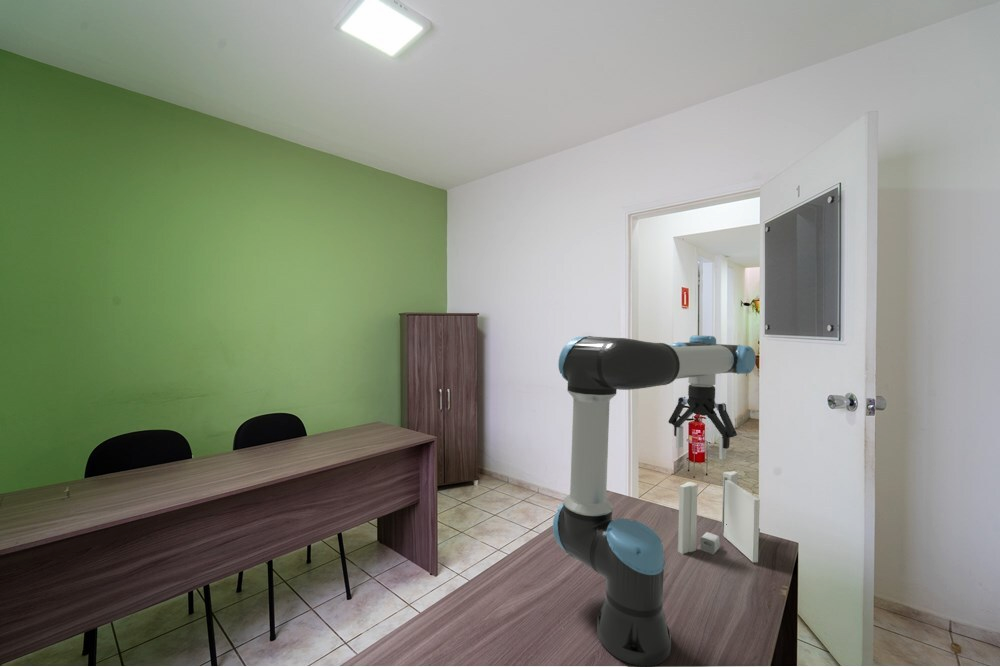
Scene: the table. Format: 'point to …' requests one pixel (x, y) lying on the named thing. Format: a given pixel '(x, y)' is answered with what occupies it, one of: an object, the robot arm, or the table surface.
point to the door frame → (694, 513)
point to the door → (741, 520)
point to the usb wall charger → (709, 542)
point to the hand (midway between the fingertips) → (700, 452)
